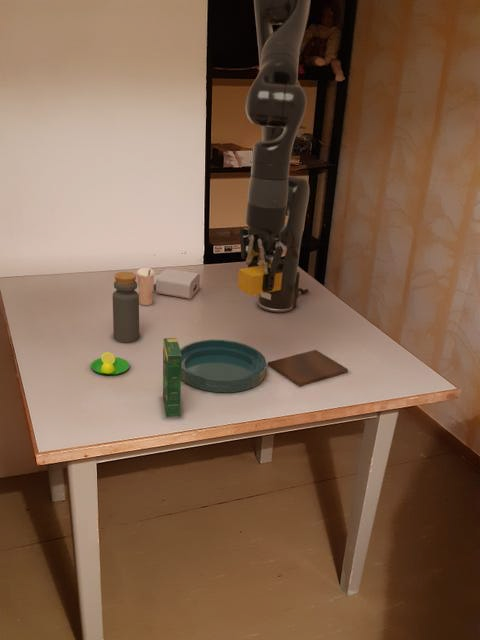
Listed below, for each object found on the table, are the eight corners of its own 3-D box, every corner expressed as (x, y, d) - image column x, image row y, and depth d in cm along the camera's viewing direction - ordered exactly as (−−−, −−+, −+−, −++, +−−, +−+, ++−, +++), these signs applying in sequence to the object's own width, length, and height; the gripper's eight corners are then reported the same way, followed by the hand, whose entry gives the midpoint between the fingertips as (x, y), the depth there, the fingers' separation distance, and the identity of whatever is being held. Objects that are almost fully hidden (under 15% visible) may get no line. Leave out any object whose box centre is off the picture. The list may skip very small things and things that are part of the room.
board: (315, 352, 155) (315, 349, 155) (347, 372, 148) (348, 369, 148) (267, 365, 148) (267, 362, 148) (299, 386, 141) (299, 383, 140)
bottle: (134, 344, 152) (133, 281, 144) (109, 340, 153) (107, 277, 145) (142, 334, 157) (142, 272, 149) (118, 330, 158) (117, 269, 150)
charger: (148, 280, 187) (199, 288, 185) (135, 291, 179) (189, 300, 177) (148, 264, 184) (200, 272, 182) (135, 274, 177) (190, 283, 174)
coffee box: (161, 396, 133) (162, 336, 126) (176, 396, 133) (177, 336, 126) (165, 418, 126) (166, 355, 119) (180, 417, 127) (182, 355, 120)
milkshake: (140, 308, 170) (140, 270, 165) (134, 300, 174) (134, 263, 169) (158, 306, 172) (158, 268, 166) (151, 299, 176) (152, 261, 170)
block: (267, 282, 139) (269, 263, 137) (280, 290, 136) (282, 271, 134) (237, 287, 135) (239, 268, 133) (250, 295, 132) (252, 276, 130)
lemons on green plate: (85, 363, 142) (85, 351, 141) (121, 356, 146) (120, 345, 145) (99, 379, 137) (98, 367, 135) (135, 372, 141) (135, 360, 139)
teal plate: (231, 345, 155) (232, 333, 154) (282, 380, 143) (284, 367, 141) (159, 362, 145) (159, 349, 144) (207, 401, 133) (208, 388, 131)
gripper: (306, 208, 124) (295, 296, 133) (261, 190, 133) (254, 272, 142) (274, 212, 120) (265, 302, 129) (230, 193, 129) (224, 277, 139)
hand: (259, 286), depth 136 cm, fingers closed on block, 4 cm apart
